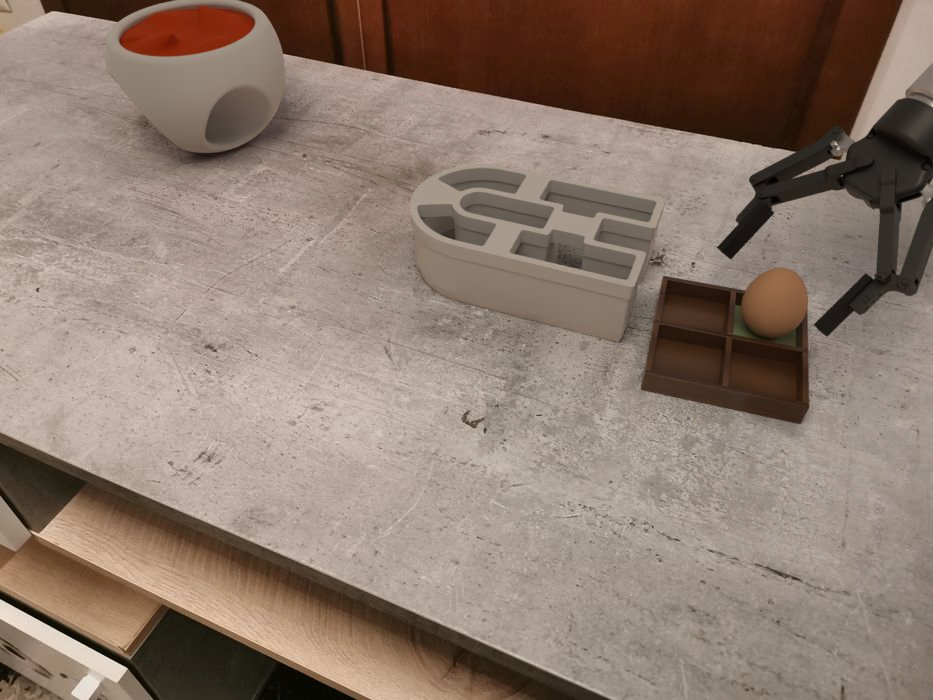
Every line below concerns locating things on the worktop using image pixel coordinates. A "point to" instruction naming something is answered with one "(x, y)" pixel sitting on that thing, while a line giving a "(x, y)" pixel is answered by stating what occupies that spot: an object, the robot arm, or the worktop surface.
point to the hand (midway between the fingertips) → (768, 290)
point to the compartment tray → (724, 354)
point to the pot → (199, 70)
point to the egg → (775, 303)
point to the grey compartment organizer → (535, 245)
